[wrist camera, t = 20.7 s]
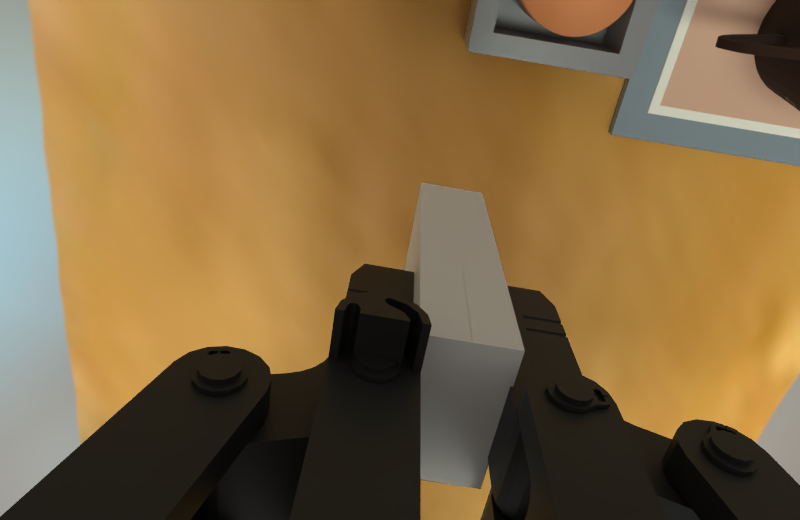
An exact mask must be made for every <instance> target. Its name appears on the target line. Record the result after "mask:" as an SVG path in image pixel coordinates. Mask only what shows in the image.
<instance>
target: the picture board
mask: <svg viewBox="0 0 800 520" xmlns="http://www.w3.org/2000/svg"><path fill="white" fill-rule="evenodd" d="M775 1H776V0H659V3H658V6H657V9H656V12H655V15H654V18H653V21H652V24H651V27H650V30H649V33H648V36H647V39H646V42H645V45H644V48H643V51H642V54H641V57H640V60H639V63H638V66H637V69H636V72H635V75H634V78H633V79H628V78H626V80H625V83H624V86H623V89H622V92H621V95H620V98H619V101H618V104H617V107H616V110H615V113H614V117H613V120H612V123H611V126H610V129H609V133H610V134H611V135H615V136H621V137H627V138H633V139H639V140H645V141H651V142H657V143H663V144H669V145H675V146H681V147H687V148H693V149H699V150H705V151H711V152H717V153H723V154H729V155H735V156H741V157H747V158H753V159H759V160H765V161H771V162H777V163H783V164H789V165H795V166H800V111H799V110H797V109H796V108H795V107H793V106H792V105H791V104H789V103H788V102H786V101H785V100H784V99H782V98H781V97H780V96H778V95H777V94H775V93H774V92H773V91H771V90H770V89H769V88H768V87H767V86H766V85H765V84H764V82H763V81H762V80H761V78H760V76H759V74H758V72H757V69H756V64H755V59H754V55H751V54H744V53H738V52H733V51H729V50H725V49H720V48H717V47H716V46H715V45H716V42H717V39H718V36H721V35H730V34H757V33H758V30H759V28H760V26H761V23H762V21H763V19H764V17H765V15H766V14H767V12H768V11H769V9H770V7H771V6H772V5H773V4H774V2H775Z"/></svg>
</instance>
